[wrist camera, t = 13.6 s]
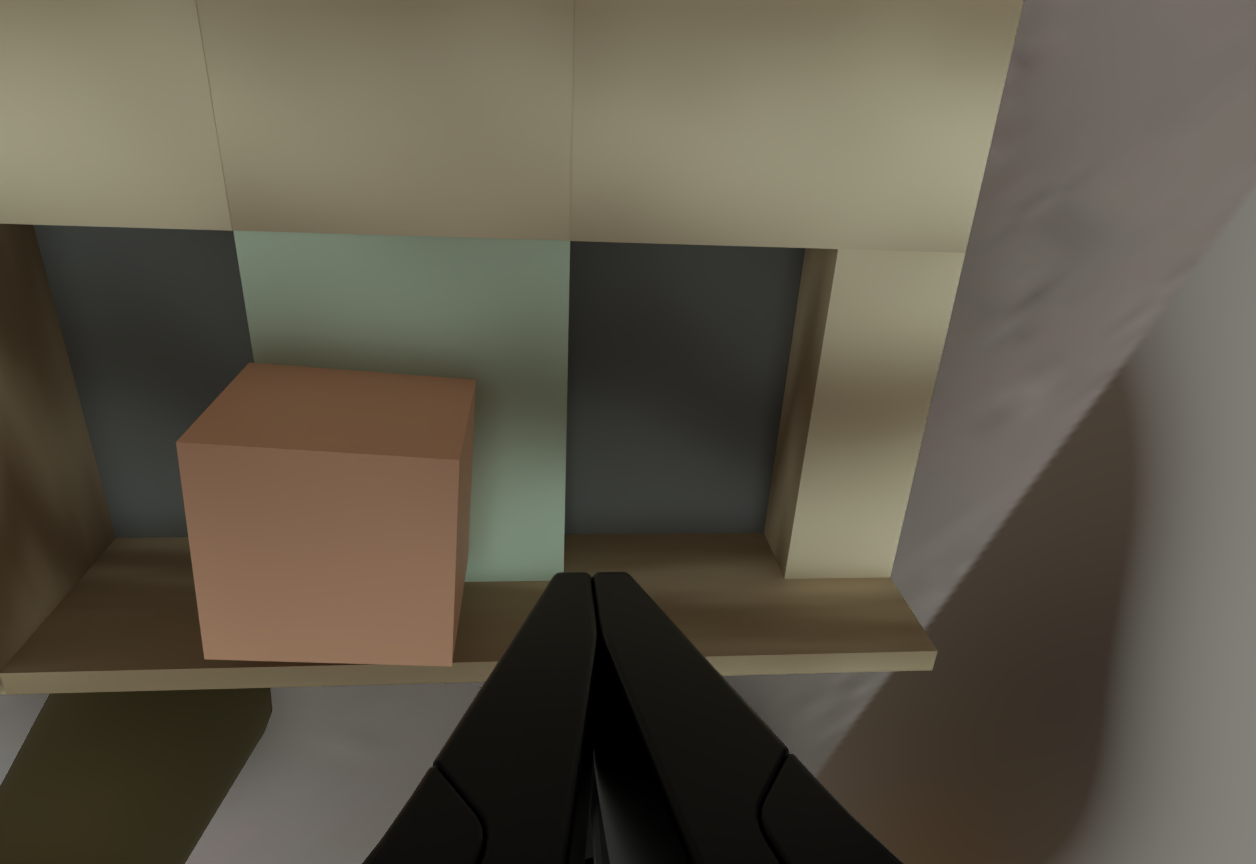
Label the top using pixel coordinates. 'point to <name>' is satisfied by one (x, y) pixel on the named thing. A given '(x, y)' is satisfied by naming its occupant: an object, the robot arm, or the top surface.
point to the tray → (490, 298)
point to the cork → (126, 774)
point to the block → (330, 515)
